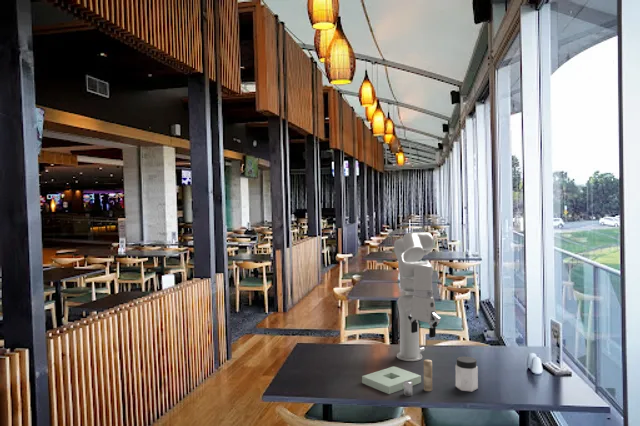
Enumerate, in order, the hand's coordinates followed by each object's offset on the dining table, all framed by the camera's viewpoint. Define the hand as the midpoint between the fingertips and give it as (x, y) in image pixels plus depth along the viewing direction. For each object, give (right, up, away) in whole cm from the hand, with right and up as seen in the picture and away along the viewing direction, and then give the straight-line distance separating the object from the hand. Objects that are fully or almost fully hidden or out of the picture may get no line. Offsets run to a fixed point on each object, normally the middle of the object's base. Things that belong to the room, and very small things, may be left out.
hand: (423, 334), depth 201 cm
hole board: (-12, -23, +8) cm, 27 cm away
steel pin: (-7, -23, -5) cm, 25 cm away
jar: (+19, -23, +1) cm, 30 cm away
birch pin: (+2, -23, 0) cm, 23 cm away
